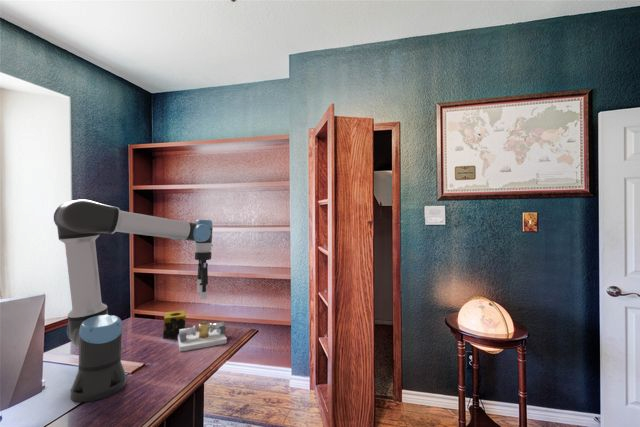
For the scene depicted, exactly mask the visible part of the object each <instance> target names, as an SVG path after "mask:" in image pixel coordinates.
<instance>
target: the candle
mask: <svg viewBox="0 0 640 427" xmlns="http://www.w3.org/2000/svg"><path fill="white" fill-rule="evenodd" d="M163 317H164V319H163V320H164V321H163V332H162V335H163V337H162V338H163V339H169V338H176V337H177V338H178V334H179V329H185V328H186V318H187V317H186V310H175V311H166V312H164V316H163Z"/></svg>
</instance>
